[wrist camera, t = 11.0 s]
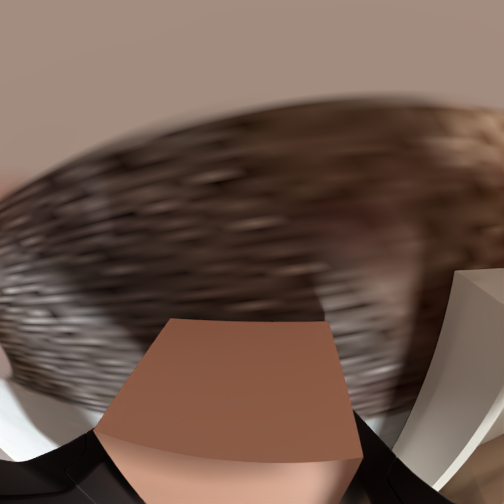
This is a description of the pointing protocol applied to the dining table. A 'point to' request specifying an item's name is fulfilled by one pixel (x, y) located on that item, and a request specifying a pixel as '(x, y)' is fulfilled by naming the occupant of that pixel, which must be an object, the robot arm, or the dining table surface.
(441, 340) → the tray
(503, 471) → the walnut block
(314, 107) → the dining table surface
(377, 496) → the robot arm
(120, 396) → the terracotta block
